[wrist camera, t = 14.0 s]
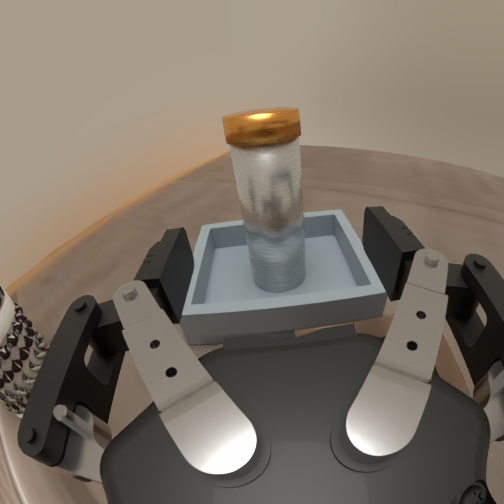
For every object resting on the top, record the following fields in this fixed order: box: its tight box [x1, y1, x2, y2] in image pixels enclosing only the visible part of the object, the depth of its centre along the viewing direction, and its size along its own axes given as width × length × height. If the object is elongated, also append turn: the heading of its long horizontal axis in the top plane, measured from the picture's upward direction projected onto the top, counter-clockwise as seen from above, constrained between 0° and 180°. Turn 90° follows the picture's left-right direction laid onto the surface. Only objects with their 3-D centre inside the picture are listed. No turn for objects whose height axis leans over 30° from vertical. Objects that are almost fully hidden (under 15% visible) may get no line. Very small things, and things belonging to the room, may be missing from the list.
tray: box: [179, 209, 387, 345], centre depth 24 cm, size 15×13×4 cm
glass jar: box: [222, 107, 306, 293], centre depth 20 cm, size 5×5×14 cm
